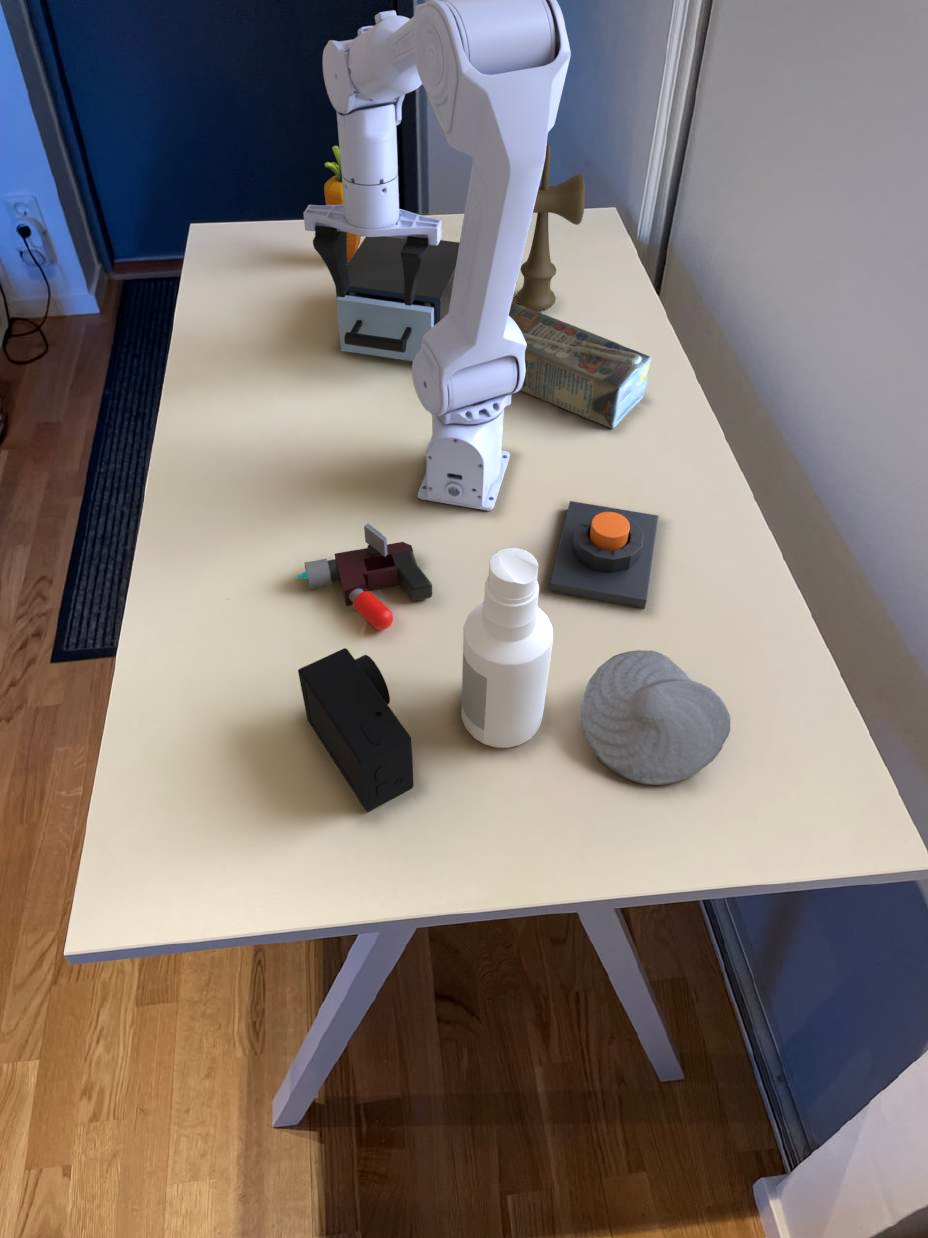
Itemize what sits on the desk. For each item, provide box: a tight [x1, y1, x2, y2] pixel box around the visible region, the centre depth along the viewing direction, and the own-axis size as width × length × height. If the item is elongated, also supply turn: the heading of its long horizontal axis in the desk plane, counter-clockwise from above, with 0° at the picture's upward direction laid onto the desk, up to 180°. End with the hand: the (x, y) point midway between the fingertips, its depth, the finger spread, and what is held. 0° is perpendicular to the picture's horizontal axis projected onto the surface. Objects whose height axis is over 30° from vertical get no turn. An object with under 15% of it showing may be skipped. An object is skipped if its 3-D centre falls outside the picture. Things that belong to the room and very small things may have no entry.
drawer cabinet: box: [334, 236, 460, 326], centre depth 113 cm, size 14×13×9 cm
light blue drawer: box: [335, 292, 434, 362], centre depth 111 cm, size 17×11×7 cm
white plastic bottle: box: [461, 547, 554, 749], centre depth 70 cm, size 7×7×18 cm
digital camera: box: [297, 647, 415, 813], centre depth 72 cm, size 10×5×7 cm, turn 33°
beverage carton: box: [509, 302, 652, 430], centre depth 106 cm, size 8×19×7 cm, turn 55°
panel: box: [549, 500, 659, 610], centre depth 89 cm, size 12×9×3 cm
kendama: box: [516, 143, 586, 311], centre depth 114 cm, size 6×10×20 cm, turn 91°
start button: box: [590, 512, 630, 550], centre depth 87 cm, size 4×4×2 cm
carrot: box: [323, 145, 362, 264], centre depth 122 cm, size 5×5×15 cm
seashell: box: [580, 649, 732, 786], centre depth 74 cm, size 12×6×10 cm
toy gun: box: [295, 523, 433, 631], centre depth 84 cm, size 10×12×5 cm
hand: (376, 296), depth 103 cm, fingers open, 7 cm apart
